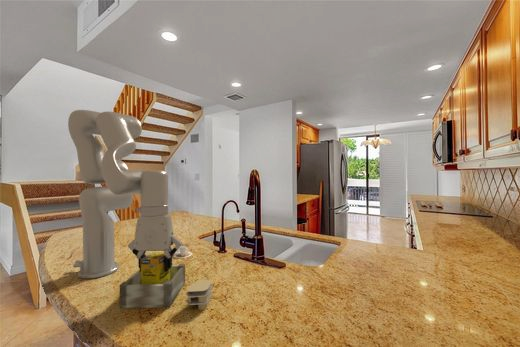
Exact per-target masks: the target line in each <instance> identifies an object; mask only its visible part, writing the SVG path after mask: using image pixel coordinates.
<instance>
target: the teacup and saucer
mask: <svg viewBox="0 0 520 347" xmlns="http://www.w3.org/2000/svg"><path fill="white" fill-rule="evenodd" d="M187 254H189V255H187ZM186 255H187V256H186ZM192 255H193V252H191V251H189V249H188V246H187V245H181V247H180V248H179V249H178V250H177V251H176V252H175V253H174V254H173V258H175V259H187V258H189V257H191V256H192ZM179 256H181V257H179Z"/></svg>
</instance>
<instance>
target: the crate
mask: <svg viewBox="0 0 520 347" xmlns="http://www.w3.org/2000/svg"><path fill="white" fill-rule="evenodd" d="M185 283H186V263H178V264H172V267H171V268H170V281H166V282H165V283H164V284H150V285H142V283H141V272H140V268H138V270H137V271H136V272H134V274H132V275H131V276H129V278H128V279H127V280H125V281H123V282H121V283H120V284H119V309H147V308H148V309H151V308H152V309H153V308H159V309H160V308H171V307H172V305H173V304H174V302H175V300H176V298H177V297H178V296H179V294H180V292H181V290H182V288H184V286H185Z"/></svg>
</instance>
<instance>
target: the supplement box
mask: <svg viewBox="0 0 520 347" xmlns="http://www.w3.org/2000/svg"><path fill="white" fill-rule="evenodd" d="M165 258H166V255H165V253H164V251H151V253H150V254H148V255H146V257H144V258H142V259H141V283H142V285H150V284H164V283H165V282H166V281H170V269H169V270H168V272H165Z"/></svg>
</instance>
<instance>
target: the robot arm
mask: <svg viewBox="0 0 520 347" xmlns="http://www.w3.org/2000/svg"><path fill="white" fill-rule="evenodd" d="M68 116H69V117H68V121H67V123H68V124H67V125H68V126H67V128H68V133H69V135H70V137H71V140H72V142H73V143H74V146H75V150H76V152H77V161H78V168H79V174H80V177H81V180H82V181H83V182H84V183H86V184H88V185H90V184H91V185H101V184H105V185H103V186H94V187H93V186H92V187H88V188H86V189H83V190H82V191H80V194H79V196H78V203H79V209H80V212H81V221H82V259H76V261H75V262H74V263H73V268H79V271H78V272H77V277H78V278H80V279H95V278H96V279H97V278H100V277H102V278H103V277H105V276H108V275H111V274H112V273H114V272H116V271H118V270H119V268H120V263H119V262H117V261H115V224H114V223H115V222H114V220H113V219H112V217H111V216H110V215H109V214H108V213H107V212H110V211H116V210H117V211H118V210H124V209H127V208H129V207H131V206H132V204H133V201H134V195H136V194H139V195H140V207H136V212H137V213H139V214H140V216H138V217H137V221H136V225H135V234H134V239H133V240H131V242H130V243H128V244H127V247H128V249H129V250H131V252H132V254H133V255H134V256H136V259H138V260H137V261H138V269H140V272H141V259H142V258H144V257H146V256H147V255H146V252H164V253H165V255H166V258H165V272H168V270H169V269H170V268H171V267H172V265H173V256H174V253H175V252H176V251H177V250H180V247H181V246H183V242H182V241H181V240H180V239H178V238H177V237H176V236H175V235H174V234H175V233H174V225H173V220H172V216H171V215H172V214H169V174H168V172H167V171H166V170H162V169H161V170H154V169H153V170H150V169H149V170H148V169H129V167H128V165H127V164H126V163H125V162H124V161H122V160H121V159H124V158H126V157H129V156H130V155H132V154H133V153H134V152H135V150H136V149H137V143H136V141H135V140H134V139H138V138H140V136H141V134H142V133H143V128H142V124H141V121H140V120H139V119H138V118H137V117H136V116H134V115H133V116H132V115H128V114H125V113H121V112H120V113H119V112H115V111H102V112H99V111H93V110H88V109H86V110H85V109H77V110H73V111H72V112H71V113H70V114H69V115H68ZM94 135H99V136H100V137H101V139H102V141H103V143H104V145H105V147H106V149H107V150H106V152H105V148H104V145H103V144H102V143H101V142H100V140H99V139H97V138H96V137H95V136H94ZM173 245H175V246H174V247H173V248H172V246H173Z"/></svg>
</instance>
